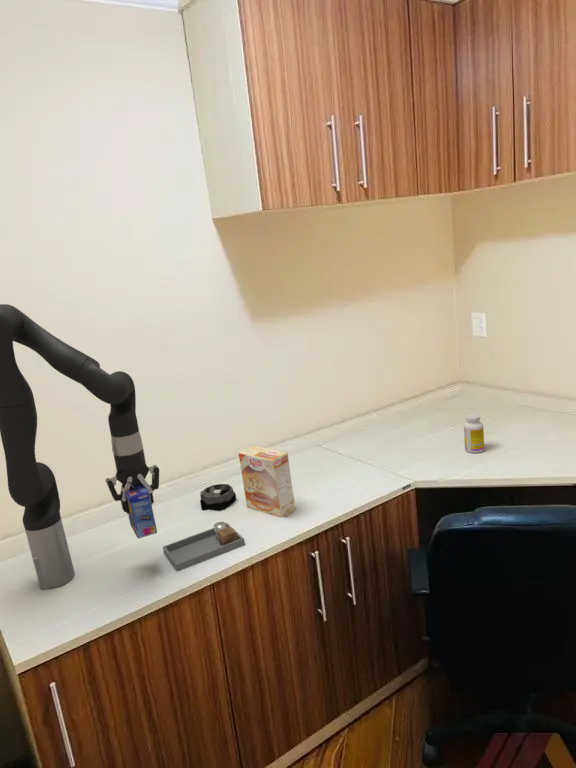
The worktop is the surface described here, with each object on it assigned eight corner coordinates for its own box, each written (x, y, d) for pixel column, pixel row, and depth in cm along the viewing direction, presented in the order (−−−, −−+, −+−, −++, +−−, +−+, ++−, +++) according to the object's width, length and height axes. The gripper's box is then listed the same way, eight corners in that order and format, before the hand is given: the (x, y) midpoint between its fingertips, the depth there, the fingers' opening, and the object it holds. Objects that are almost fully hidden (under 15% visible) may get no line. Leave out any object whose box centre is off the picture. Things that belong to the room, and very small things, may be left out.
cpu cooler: (238, 484, 193) (221, 498, 185) (240, 500, 195) (223, 514, 186) (212, 481, 198) (194, 495, 190) (214, 497, 200) (197, 511, 191)
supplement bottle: (488, 449, 209) (487, 415, 205) (476, 455, 205) (474, 420, 202) (473, 445, 214) (471, 411, 211) (461, 450, 211) (459, 417, 207)
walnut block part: (225, 549, 164) (222, 536, 163) (219, 543, 167) (217, 531, 166) (238, 544, 166) (235, 531, 164) (232, 538, 169) (230, 526, 168)
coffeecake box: (246, 509, 187) (237, 452, 182) (261, 500, 192) (253, 444, 188) (281, 520, 178) (272, 460, 173) (296, 510, 183) (288, 451, 178)
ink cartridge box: (128, 525, 160) (119, 475, 156) (148, 519, 162) (140, 470, 159) (136, 539, 151) (127, 488, 148) (157, 533, 154) (149, 482, 150)
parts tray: (177, 573, 156) (176, 564, 156) (164, 554, 166) (162, 546, 166) (245, 546, 165) (244, 538, 164) (228, 530, 175) (227, 522, 175)
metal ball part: (218, 541, 168) (216, 529, 167) (213, 537, 171) (211, 524, 170) (230, 537, 170) (227, 525, 169) (225, 532, 173) (223, 520, 172)
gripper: (102, 460, 145) (115, 522, 149) (159, 445, 151) (169, 505, 155) (96, 452, 151) (108, 512, 155) (151, 438, 158) (161, 496, 162)
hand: (139, 508), depth 155 cm, fingers closed on ink cartridge box, 5 cm apart
